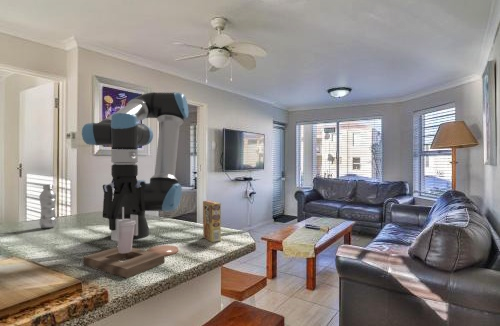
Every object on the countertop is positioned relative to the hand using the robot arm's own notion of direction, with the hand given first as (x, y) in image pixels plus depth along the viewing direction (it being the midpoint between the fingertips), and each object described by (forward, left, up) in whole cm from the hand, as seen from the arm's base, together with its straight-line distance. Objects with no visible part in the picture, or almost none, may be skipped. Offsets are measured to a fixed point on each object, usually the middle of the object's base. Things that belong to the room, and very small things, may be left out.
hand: (125, 237), depth 94 cm
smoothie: (0, 0, -5) cm, 5 cm away
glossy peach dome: (+1, +15, -8) cm, 17 cm away
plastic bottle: (-70, +13, -8) cm, 71 cm away
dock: (0, 0, -8) cm, 8 cm away
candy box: (+6, +37, -8) cm, 38 cm away
